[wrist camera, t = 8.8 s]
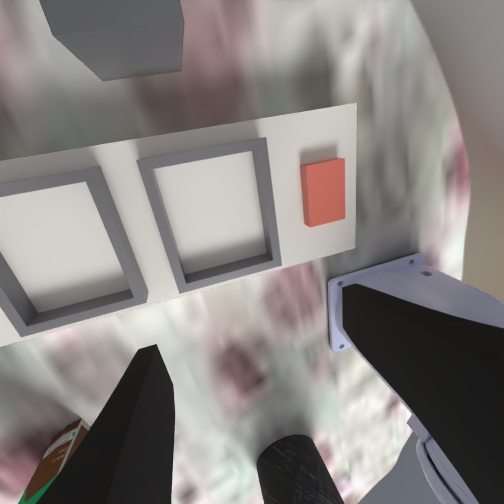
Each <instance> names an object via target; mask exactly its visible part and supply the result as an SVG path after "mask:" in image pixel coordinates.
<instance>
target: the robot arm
mask: <svg viewBox="0 0 504 504" xmlns="http://www.w3.org/2000/svg"><path fill="white" fill-rule="evenodd" d="M424 263H425V255H424V254H421V253H417V254H413V255H410V256H407V257H403V258H400V259H396V260H393V261H390V262H386V263H383V264H380V265H376V266H373V267H369V268H366V269H363V270H359V271H356V272H353V273H349V274H346V275H342V276H339V277H336V278H333V279H331V280H330V281H329V282H328V304H329V328H330V348H331V350H332V351H333V352H338V351H341V350H344V349H347V348H349V347H353V348H354V349H355V350H356V351H357V352H358V354H359V355H360V356H361V357H362V358H363V359H364V360H365V361H366V363H367V364H368V365H369V366H370V367H371V368H372V369H373V370H374V372H375V373H376V374H377V375H378V376H379V377H380V378H381V380H382V381H383V382H384V383H385V384H386V385H387V386H388V387H389V389H390V390H391V391H392V392H393V393H394V394H395V395H396V396H397V398H398V399H399V400H400V401H401V402H402V403H403V404H404V406H405V407H406V408H407V409H408V410H409V411H410V412H411V413H412V415H411V417H410V418H409V420H408V421H407V424H408V425H409V426H410V428H411V429H412V430H413V431H414V432H415V434H416V435H417V436H418V437H419V438H420V439H419V440H418V442H417V445H416V450H417V456H418V459H419V461H420V464H421V466H422V469H423V472H424V474H425V477H426V479H427V481H428V483H429V485H430V486H431V488H432V490H433V491H434V493H435V495H436V496H437V498H438V499H439V500H440V502H441V503H442V504H504V304H503V303H501V302H500V301H499V300H497V299H496V298H494V297H493V296H491V295H489V294H487V293H485V292H483V291H481V290H479V289H477V288H474V287H472V286H470V285H468V284H466V283H464V282H462V281H460V280H457V279H455V278H453V277H451V276H449V275H447V274H445V273H442V272H440V271H438V270H436V269H434V268H432V267H430V266H428V265H425V264H424ZM340 281H341V282H340ZM339 282H340V283H339ZM338 283H339V284H338ZM174 431H175V403H174V389H173V383H172V381H171V378H170V376H169V373H168V371H167V369H166V366H165V364H164V361H163V359H162V356H161V354H160V351H159V349H158V347H157V344H155V345H151V346H148V347H145V348H142V349H138V351H137V352H136V354H135V356H134V357H133V359H132V361H131V362H130V364H129V366H128V368H127V369H126V371H125V373H124V375H123V376H122V378H121V380H120V381H119V383H118V385H117V387H116V388H115V390H114V391H113V393H112V395H111V396H110V398H109V400H108V401H107V403H106V405H105V406H104V408H103V409H102V411H101V413H100V414H99V416H98V417H97V419H96V420H95V422H94V423H93V425H92V426H91V428H90V429H89V431H88V432H87V434H86V435H85V437H84V438H83V440H82V441H81V443H80V444H79V446H78V447H77V449H76V450H75V452H74V453H73V454H72V456H71V457H70V459H69V460H68V462H67V463H66V464H65V466H64V467H63V468H62V470H61V471H60V472H59V474H58V475H57V476H56V478H55V479H54V480H53V482H52V483H51V484H50V486H49V487H48V488H47V490H46V491H45V492H44V494H43V495H42V496H41V497H40V499H39V500H38V501H37V502H36V504H171V492H172V472H173V452H174Z"/></svg>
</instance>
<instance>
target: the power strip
mask: <svg viewBox="0 0 504 504" xmlns="http://www.w3.org/2000/svg"><path fill="white" fill-rule="evenodd" d="M356 135H357V103H353V104H346V105H340V106H334V107H328V108H322V109H316V110H310V111H303V112H297V113H291V114H285V115H279V116H273V117H266V118H260V119H254V120H248V121H242V122H236V123H229V124H223V125H217V126H211V127H205V128H199V129H193V130H186V131H180V132H174V133H168V134H162V135H156V136H149V137H143V138H137V139H131V140H125V141H119V142H113V143H106V144H100V145H94V146H88V147H82V148H76V149H69V150H63V151H57V152H51V153H45V154H39V155H32V156H26V157H20V158H14V159H8V160H2V161H0V347H2V346H5V345H9V344H13V343H16V342H20V341H23V340H27V339H31V338H34V337H38V336H41V335H45V334H49V333H52V332H56V331H59V330H63V329H67V328H70V327H74V326H77V325H81V324H85V323H88V322H92V321H95V320H99V319H103V318H106V317H110V316H113V315H117V314H121V313H124V312H128V311H131V310H135V309H139V308H142V307H146V306H149V305H153V304H157V303H160V302H164V301H167V300H171V299H175V298H178V297H182V296H185V295H189V294H193V293H196V292H200V291H203V290H207V289H211V288H214V287H218V286H221V285H225V284H229V283H232V282H236V281H239V280H243V279H247V278H250V277H254V276H257V275H261V274H265V273H268V272H272V271H275V270H279V269H283V268H286V267H290V266H293V265H297V264H301V263H304V262H308V261H311V260H315V259H319V258H322V257H326V256H329V255H333V254H337V253H340V252H344V251H347V250H351V249H355V234H356Z"/></svg>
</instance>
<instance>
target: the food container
mask: <svg viewBox="0 0 504 504" xmlns="http://www.w3.org/2000/svg"><path fill="white" fill-rule="evenodd" d="M90 428H91V427H90V426H89V425H88V424H87V423H86V422H85V421H84V420H83V419H80V420H78V421H76V422H74V423H72V424H70V425H68V426H67V427H66V428H65V429H63V430H62V431H61V432H60V433H59V434H58V435H56V436H55V437H54V438H53V440H52V442H51V443H50V445H49V447H48V448H47V450H46V452H45V454H44V456H43V458H42V459H41V461H40V463H39V465H38V467H37V469H36V471H35V473H34V475H33V477H32V478H31V480H30V482H29V484H28V486H27V488H26V490H25V492H24V494H23V495H22V497H21V499H20V501H19V503H18V504H36V502H37V501H38V500H39V499H40V497H41V496H42V495H43V494H44V492H45V491H46V490H47V488H48V487H49V486H50V484H51V483H52V482H53V480H54V479H55V478H56V476H57V475H58V474H59V472H60V471H61V470H62V468H63V467H64V466H65V464H66V463H67V462H68V460H69V459H70V457H71V456H72V454H73V453H74V452H75V450H76V449H77V447H78V446H79V444H80V443H81V441H82V440H83V438H84V437H85V435H86V434H87V432H88V431H89V429H90Z"/></svg>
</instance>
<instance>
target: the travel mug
mask: <svg viewBox="0 0 504 504" xmlns="http://www.w3.org/2000/svg"><path fill="white" fill-rule="evenodd" d="M257 472H258V477H259V482H260V486H261V491H262V496H263V500H264V504H344V502H343V500H342V498H341V496H340V494H339V492H338V490H337V488H336V486H335V484H334V482H333V480H332V478H331V476H330V474H329V472H328V470H327V468H326V466H325V464H324V462H323V460H322V458H321V456H320V454H319V452H318V450H317V448H316V446H315V444H314V443H313V441H312V440H311V439H310V438H309V437H307V436H303V435H293V436H289V437H285V438H283V439H280V440H278V441H277V442H275V443H273V444H272V445H270V446H269V447H268V448H267V449H266V450H265V451H264V452H263V453H262V454H261V456H260V457H259V459H258V462H257Z"/></svg>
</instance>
